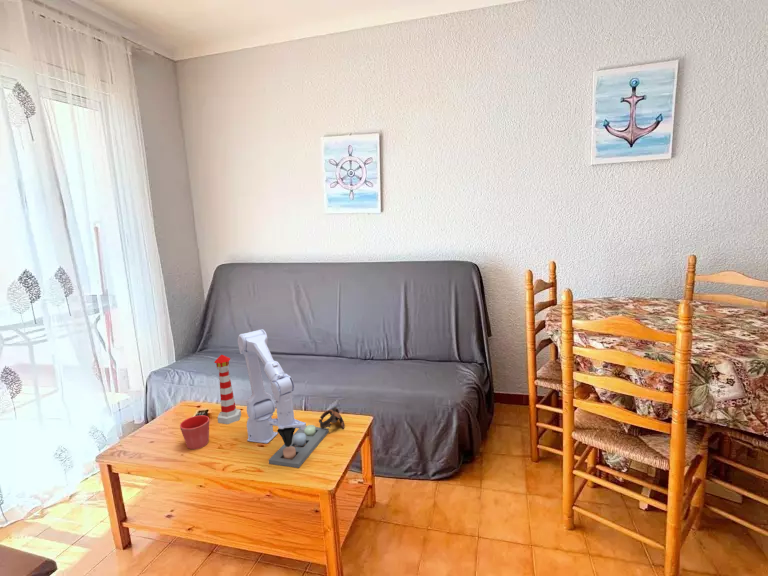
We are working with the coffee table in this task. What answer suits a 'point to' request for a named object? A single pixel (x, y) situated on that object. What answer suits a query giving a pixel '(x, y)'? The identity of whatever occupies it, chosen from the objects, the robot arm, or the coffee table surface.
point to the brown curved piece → (331, 418)
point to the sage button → (310, 430)
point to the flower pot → (195, 431)
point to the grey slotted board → (299, 449)
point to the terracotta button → (289, 452)
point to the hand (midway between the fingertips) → (288, 445)
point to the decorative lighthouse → (226, 393)
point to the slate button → (299, 439)
